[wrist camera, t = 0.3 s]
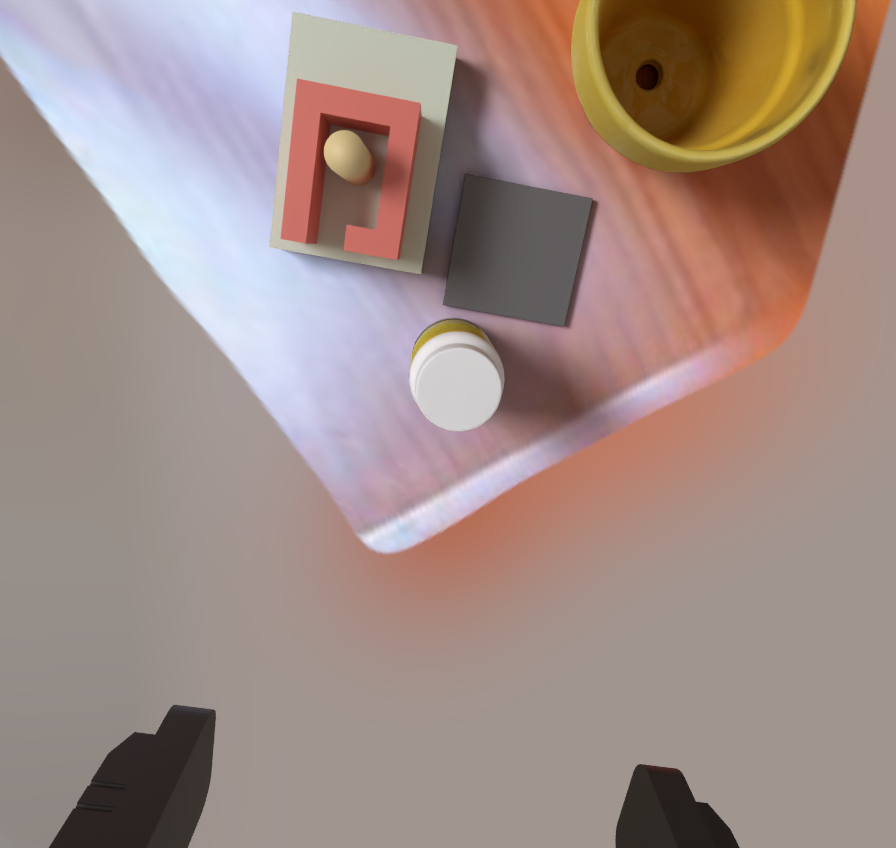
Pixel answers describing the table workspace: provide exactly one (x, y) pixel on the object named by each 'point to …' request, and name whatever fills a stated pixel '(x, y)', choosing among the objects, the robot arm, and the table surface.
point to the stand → (363, 153)
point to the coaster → (516, 250)
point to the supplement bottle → (456, 375)
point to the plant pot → (705, 74)
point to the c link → (308, 164)
